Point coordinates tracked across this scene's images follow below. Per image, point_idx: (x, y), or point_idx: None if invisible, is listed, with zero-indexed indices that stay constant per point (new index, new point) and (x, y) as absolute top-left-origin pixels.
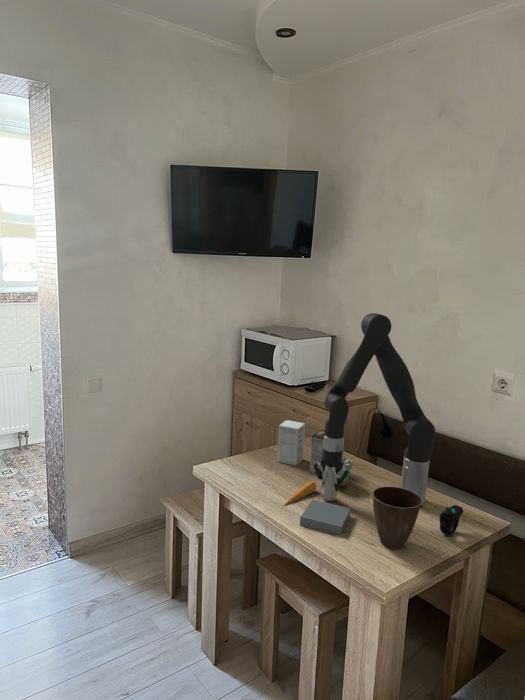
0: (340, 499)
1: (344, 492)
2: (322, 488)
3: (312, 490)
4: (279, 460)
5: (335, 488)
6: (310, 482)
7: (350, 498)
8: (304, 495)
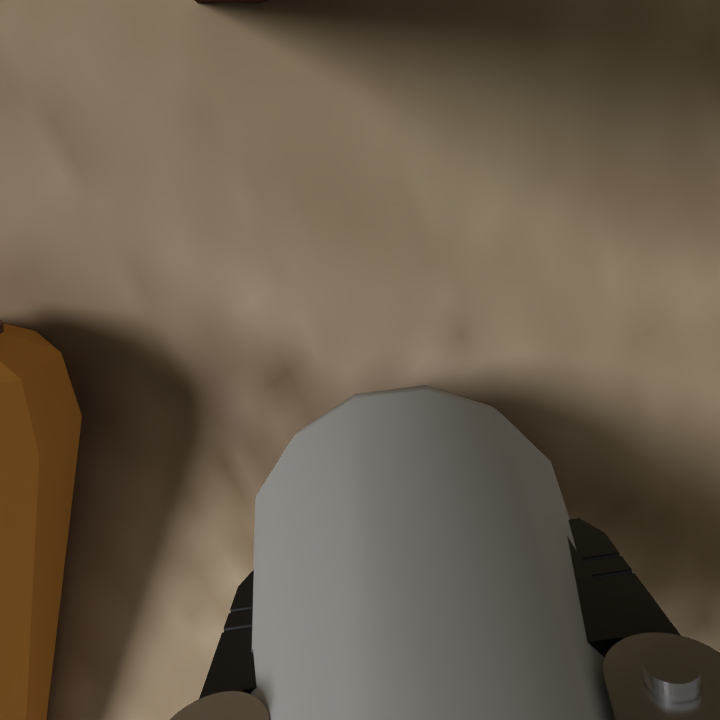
0: (566, 356)
1: (537, 24)
2: None
3: (60, 492)
4: None
5: None
6: None
7: (713, 205)
8: (49, 656)
